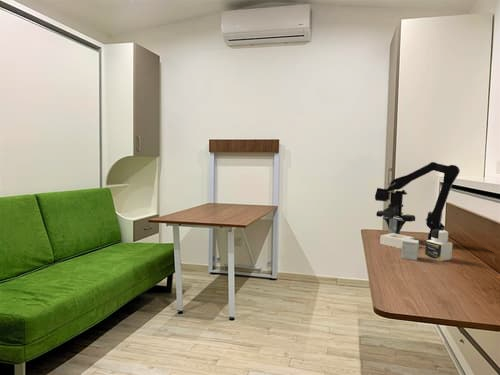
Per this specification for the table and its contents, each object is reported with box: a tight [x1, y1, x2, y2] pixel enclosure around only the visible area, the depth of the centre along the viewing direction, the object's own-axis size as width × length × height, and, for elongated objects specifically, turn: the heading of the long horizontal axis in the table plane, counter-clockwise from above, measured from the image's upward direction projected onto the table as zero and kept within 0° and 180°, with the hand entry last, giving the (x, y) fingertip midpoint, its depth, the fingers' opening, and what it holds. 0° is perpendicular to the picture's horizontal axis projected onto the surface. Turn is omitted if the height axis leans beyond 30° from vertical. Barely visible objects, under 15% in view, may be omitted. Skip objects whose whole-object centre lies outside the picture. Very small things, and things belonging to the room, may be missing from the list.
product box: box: [400, 238, 420, 261], centre depth 145 cm, size 6×6×7 cm
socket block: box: [379, 233, 415, 250], centre depth 167 cm, size 11×11×4 cm
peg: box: [387, 217, 401, 235], centre depth 182 cm, size 4×4×10 cm
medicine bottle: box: [424, 229, 453, 262], centre depth 145 cm, size 7×7×12 cm
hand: (394, 232), depth 182 cm, fingers closed on peg, 4 cm apart
